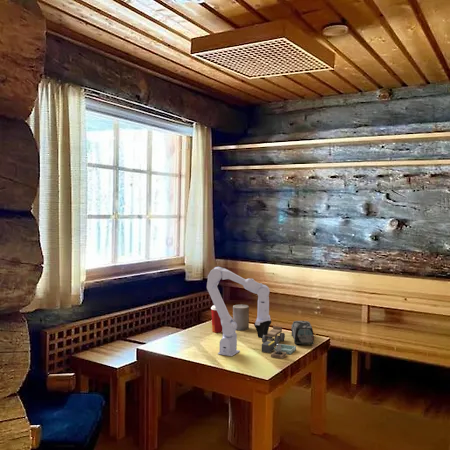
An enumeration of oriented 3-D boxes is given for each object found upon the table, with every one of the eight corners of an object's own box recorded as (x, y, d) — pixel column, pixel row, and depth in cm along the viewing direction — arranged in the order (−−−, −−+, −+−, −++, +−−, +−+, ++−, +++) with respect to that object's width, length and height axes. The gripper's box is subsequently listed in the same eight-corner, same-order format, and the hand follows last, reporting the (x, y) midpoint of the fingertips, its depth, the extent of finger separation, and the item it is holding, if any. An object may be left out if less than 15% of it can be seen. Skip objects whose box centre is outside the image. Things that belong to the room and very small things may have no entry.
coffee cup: (227, 331, 293) (227, 305, 292) (219, 334, 286) (220, 308, 285) (214, 328, 297) (215, 304, 296) (207, 332, 290) (207, 306, 289)
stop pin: (280, 357, 246) (280, 345, 246) (275, 356, 247) (275, 344, 247) (281, 355, 248) (282, 344, 248) (277, 355, 249) (277, 343, 249)
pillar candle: (248, 326, 304) (248, 302, 303) (249, 330, 294) (249, 305, 293) (232, 326, 304) (232, 302, 303) (232, 330, 294) (232, 305, 294)
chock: (269, 353, 252) (269, 344, 252) (261, 352, 254) (261, 343, 254) (274, 349, 259) (274, 341, 258) (266, 348, 261) (266, 339, 260)
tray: (290, 354, 250) (290, 350, 250) (274, 352, 254) (274, 348, 254) (295, 350, 258) (296, 346, 258) (280, 347, 262) (280, 343, 262)
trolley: (276, 345, 265) (276, 332, 264) (261, 343, 269) (262, 330, 268) (284, 340, 276) (285, 327, 275) (270, 337, 280) (270, 325, 279)
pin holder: (282, 358, 243) (282, 355, 243) (270, 356, 246) (270, 353, 246) (286, 355, 249) (286, 352, 249) (275, 353, 252) (275, 350, 251)
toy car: (309, 334, 289) (309, 317, 288) (314, 347, 264) (315, 328, 263) (290, 334, 289) (291, 317, 289) (294, 346, 264) (294, 328, 264)
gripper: (265, 313, 240) (264, 341, 241) (275, 307, 253) (275, 333, 253) (251, 311, 243) (251, 338, 244) (263, 306, 256) (262, 332, 257)
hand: (262, 336), depth 249 cm, fingers open, 5 cm apart
